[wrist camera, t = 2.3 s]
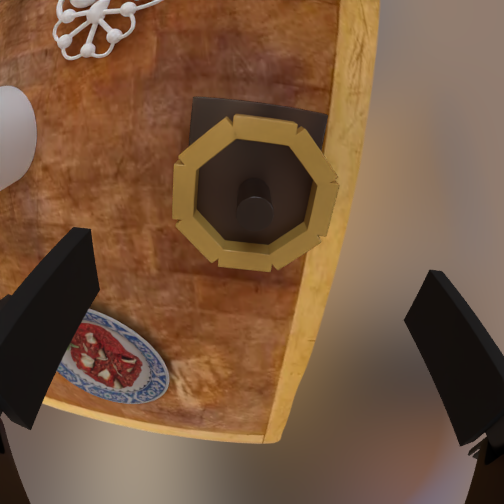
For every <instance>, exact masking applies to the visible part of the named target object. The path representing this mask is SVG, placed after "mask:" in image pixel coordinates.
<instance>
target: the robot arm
mask: <svg viewBox="0 0 504 504" xmlns="http://www.w3.org/2000/svg"><path fill="white" fill-rule="evenodd" d="M99 290H100V287H99V282H98V276H97V270H96V264H95V257H94V250H93V243H92V235H91V229H87V228H78V227H73V228H72V229H71V230H70V231H69V232H68V233H67V234H66V235H65V236H64V237H63V238H62V239H61V240H60V241H59V242H58V243H57V245H56V246H55V247H54V248H53V249H52V250H51V251H50V252H49V253H48V254H47V255H46V256H45V257H44V258H43V260H42V261H41V262H40V263H39V264H38V265H37V266H36V267H35V269H34V270H33V271H32V272H31V273H30V274H29V275H28V277H27V278H26V279H25V280H24V281H23V283H22V284H21V285H20V286H19V287H18V289H17V290H16V291H15V292H14V294H13V295H9V294H8V295H7V296H5V297H4V298H2V299H1V300H0V416H1V414H2V412H4V413H5V414H6V415H7V416H8V418H9V419H10V420H11V421H13V422H14V423H16V424H19V425H21V426H23V427H25V428H27V429H29V430H31V429H32V426H33V423H34V421H35V418H36V416H37V414H38V411H39V409H40V406H41V404H42V402H43V399H44V397H45V395H46V392H47V390H48V388H49V386H50V384H51V381H52V379H53V377H54V375H55V373H56V371H57V369H58V367H59V365H60V362H61V360H62V358H63V356H64V354H65V352H66V350H67V348H68V346H69V345H70V343H71V341H72V339H73V337H74V335H75V333H76V331H77V329H78V327H79V326H80V324H81V322H82V320H83V318H84V317H85V315H86V313H87V311H88V309H89V308H90V306H91V304H92V302H93V301H94V299H95V297H96V296H97V294H98V292H99ZM404 321H405V323H406V325H407V327H408V329H409V331H410V333H411V335H412V337H413V339H414V341H415V343H416V345H417V347H418V349H419V351H420V353H421V355H422V357H423V359H424V361H425V363H426V366H427V368H428V370H429V372H430V374H431V376H432V378H433V381H434V383H435V385H436V388H437V390H438V392H439V394H440V397H441V399H442V401H443V404H444V406H445V409H446V411H447V413H448V416H449V418H450V421H451V423H452V426H453V428H454V431H455V434H456V436H457V439H458V442H459V444H460V446H463V445H465V444H468V443H471V442H473V441H475V440H476V439H477V438H478V437H480V436H481V435H482V434H483V433H486V435H487V437H486V438H485V439H483V440H482V441H481V442H479V443H478V444H477V445H476V446H474V447H473V448H472V449H471V450H470V451H469V453H468V455H471V454H472V453H474V452H475V451H476V450H477V449H480V450H479V451H478V452H476V453H475V454H474V455H473V457H474V458H476V459H477V464H476V467H475V471H474V475H473V478H472V482H471V485H470V489H469V492H468V495H467V498H466V501H465V504H504V356H503V354H502V353H501V351H500V350H499V348H498V346H497V345H496V344H495V342H494V341H493V339H492V338H491V336H490V335H489V333H488V332H487V331H486V329H485V327H484V326H483V325H482V323H481V322H480V320H479V319H478V317H477V316H476V315H475V313H474V312H473V311H472V309H471V308H470V306H469V305H468V304H467V302H466V301H465V300H464V298H463V297H462V296H461V294H460V293H459V292H458V291H457V289H456V288H455V287H454V285H453V284H452V283H451V282H450V280H449V279H448V278H447V277H446V275H445V274H444V273H443V272H442V271H436V270H429V272H428V274H427V276H426V278H425V280H424V282H423V285H422V286H421V289H420V290H419V292H418V294H417V296H416V298H415V300H414V302H413V304H412V306H411V308H410V310H409V312H408V313H407V315H406V317H405V319H404ZM0 504H30V501H29V499H28V497H27V494H26V492H25V490H24V487H23V484H22V482H21V479H20V477H19V474H18V471H17V468H16V465H15V462H14V459H13V456H12V453H11V450H10V446H9V443H8V439H7V435H6V432H5V428H4V424H3V422H2V420H1V418H0Z"/></svg>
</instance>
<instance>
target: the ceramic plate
mask: <svg viewBox="0 0 504 504" xmlns="http://www.w3.org/2000/svg"><path fill="white" fill-rule="evenodd" d="M57 371H58V372H59V373H60V374H61V375H62V376H63V377H65V378H66V379H67V380H68V381H70V382H71V383H73V384H74V385H76V386H77V387H79V388H81V389H83V390H84V391H86V392H88V393H90V394H93V395H95V396H97V397H100V398H103V399H106V400H110V401H113V402H119V403H126V404H141V403H147V402H151V401H154V400H156V399H158V398H159V397H161V396H162V395H163V394H164V393H165V392H166V390H167V388H168V386H169V373H168V370H167V367H166V365H165V363H164V361H163V359H162V358H161V356H160V355H159V354H158V352H157V351H156V350H155V349H154V348H153V347H152V346H151V345H150V344H149V343H148V342H147V341H146V340H145V339H144V338H142V337H141V336H140V335H139V334H137V333H136V332H135V331H133V330H132V329H130V328H129V327H127V326H126V325H124V324H122V323H121V322H119V321H117V320H115V319H113V318H111V317H109V316H107V315H105V314H102V313H100V312H97V311H95V310H91V309H88V311H87V313H86V315H85V317H84V318H83V320H82V322H81V324H80V326H79V327H78V329H77V331H76V333H75V335H74V337H73V339H72V341H71V343H70V345H69V346H68V348H67V350H66V352H65V354H64V356H63V358H62V360H61V362H60V365H59V367H58V369H57Z"/></svg>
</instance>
